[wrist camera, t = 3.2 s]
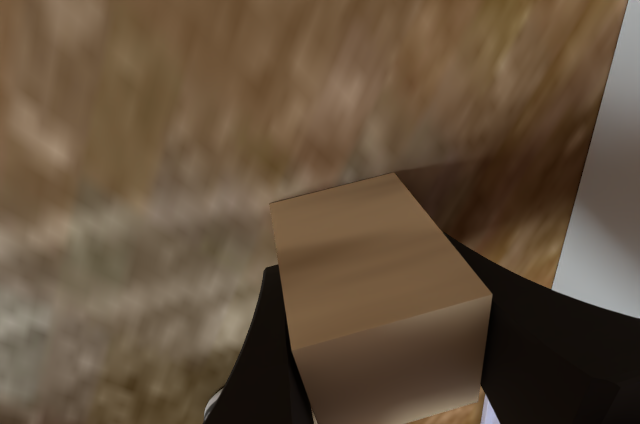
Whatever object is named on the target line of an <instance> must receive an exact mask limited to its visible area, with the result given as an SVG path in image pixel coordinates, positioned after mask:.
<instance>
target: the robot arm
mask: <svg viewBox="0 0 640 424" xmlns="http://www.w3.org/2000/svg"><path fill="white" fill-rule="evenodd" d="M442 232H443V231H442ZM443 234H444V235H445V236H446V237H447V239H448V240H449V241H450V242H451V244H452V245H453V246H454V247H455V249H456V250H457V251H458V252H459V253H460V255H461V256H462V257H463V258H464V260H465V261H466V262H467V263H468V265H469V266H470V267H471V268H472V270H473V271H474V272H475V273H476V274H477V276H478V277H479V278H480V279H481V281H482V282H483V283H484V284H485V286H486V287H487V288H488V289H489V291H490V292H491V293H492V294H493V295H492V302H491V309H490V317H489V324H488V331H487V338H486V346H485V353H484V360H483V368H482V375H481V382H480V384H481V386H482V388H483V390H484V392H485V400H484V406H483V413H482V419H481V424H640V319H639V318H635V317H632V316H628V315H625V314H621V313H618V312H615V311H611V310H608V309H605V308H601V307H598V306H595V305H592V304H589V303H586V302H583V301H580V300H578V299H575V298H572V297H569V296H567V295H564V294H561V293H559V292H556V291H554V290H551V289H549V288H546V287H544V286H542V285H539V284H537V283H535V282H532V281H530V280H528V279H526V278H523V277H521V276H519V275H517V274H515V273H513V272H511V271H509V270H507V269H505V268H503V267H501V266H500V265H498V264H496V263H494V262H492V261H490V260H488V259H487V258H485V257H483V256H481V255H480V254H478V253H476V252H475V251H473V250H471V249H470V248H468V247H466V246H465V245H463V244H461V243H460V242H458V241H457V240H455V239H454V238H452V237H450V236H449V235H447V234H446V233H444V232H443ZM203 424H314V422H313V416H312V411H311V405H310V401H309V398H308V395H307V392H306V390H305V387H304V384H303V381H302V378H301V376H300V373H299V370H298V367H297V364H296V362H295V359H294V356H293V353H292V350H291V344H290V337H289V330H288V324H287V317H286V311H285V304H284V297H283V291H282V284H281V277H280V271H279V264H278V265H274V266H271V267H267V268H266V269H265V270H264V273H263V280H262V285H261V290H260V294H259V298H258V302H257V305H256V309H255V312H254V316H253V319H252V322H251V325H250V328H249V330H248V333H247V336H246V339H245V341H244V344H243V347H242V349H241V352H240V354H239V356H238V359H237V361H236V363H235V365H234V367H233V370H232V372H231V374H230V376H229V378H228V380H227V382H226V384H225V386H224V388H223V390H222V391H221V393H220V395H219V397H218V399H217V401H216V403H215V404H214V406H213V408H212V410H211V411H210V413H209V414H208V416H207V418H206V419H205V421H204V423H203Z"/></svg>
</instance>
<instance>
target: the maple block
mask: <svg viewBox="0 0 640 424" xmlns="http://www.w3.org/2000/svg"><path fill="white" fill-rule="evenodd" d="M270 211H271V218H272V224H273V231H274V238H275V244H276V251H277V257H278V264H279V271H280V277H281V284H282V291H283V297H284V304H285V311H286V317H287V324H288V330H289V337H290V344H291V350H292V353H293V356H294V359H295V362H296V364H297V367H298V370H299V373H300V376H301V378H302V381H303V384H304V387H305V390H306V392H307V395H308V398H309V401H310V404H311V406H312V409H313V412H314V415H315V417H316V420H317V423H318V424H405V423H408V422H412V421H415V420H419V419H422V418H425V417H429V416H432V415H435V414H439V413H442V412H445V411H449V410H452V409H455V408H459V407H462V406H465V405H469V404H472V403H475V402H478V397H479V389H480V382H481V375H482V368H483V360H484V353H485V346H486V338H487V331H488V324H489V317H490V309H491V302H492V295H493V294H492V293H491V292H490V291H489V289H488V288H487V287H486V286H485V284H484V283H483V282H482V281H481V279H480V278H479V277H478V276H477V274H476V273H475V272H474V271H473V270H472V268H471V267H470V266H469V265H468V263H467V262H466V261H465V260H464V258H463V257H462V256H461V255H460V253H459V252H458V251H457V250H456V249H455V247H454V246H453V245H452V244H451V242H450V241H449V240H448V239H447V237H446V236H445V235H444V234H443V232H442V231H441V230H440V229H439V228H438V226H437V225H436V224H435V223H434V221H433V220H432V219H431V218H430V216H429V215H428V214H427V213H426V211H425V210H424V209H423V208H422V206H421V205H420V204H419V203H418V202H417V200H416V199H415V198H414V197H413V195H412V194H411V193H410V192H409V190H408V189H407V188H406V187H405V185H404V184H403V183H402V182H401V181H400V179H399V178H398V177H397V176H396V174H395V173H394V172H393V173H389V174H385V175H381V176H377V177H374V178H370V179H366V180H362V181H358V182H354V183H350V184H346V185H342V186H338V187H334V188H330V189H326V190H322V191H318V192H314V193H310V194H306V195H302V196H298V197H294V198H290V199H287V200H283V201H279V202H275V203H271V204H270Z"/></svg>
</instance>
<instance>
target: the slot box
mask: <svg viewBox="0 0 640 424" xmlns="http://www.w3.org/2000/svg"><path fill="white" fill-rule="evenodd" d="M552 290H554V291H556V292H559V293H561V294H564V295H567V296H569V297H572V298H575V299H578V300H580V301H583V302H586V303H589V304H592V305H595V306H598V307H601V308H605V309H608V310H611V311H615V312H618V313H621V314H625V315H628V316H632V317H635V318H639V319H640V0H629V1H628V5H627V8H626V12H625V16H624V20H623V23H622V27H621V31H620V35H619V38H618V42H617V46H616V50H615V53H614V57H613V61H612V65H611V68H610V72H609V76H608V80H607V83H606V87H605V91H604V95H603V98H602V102H601V106H600V110H599V114H598V117H597V121H596V125H595V129H594V132H593V136H592V140H591V144H590V147H589V151H588V155H587V159H586V162H585V166H584V170H583V174H582V177H581V181H580V185H579V189H578V192H577V196H576V200H575V204H574V207H573V211H572V215H571V219H570V222H569V226H568V230H567V234H566V237H565V241H564V245H563V249H562V252H561V256H560V260H559V264H558V267H557V271H556V275H555V279H554V282H553V286H552Z"/></svg>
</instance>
